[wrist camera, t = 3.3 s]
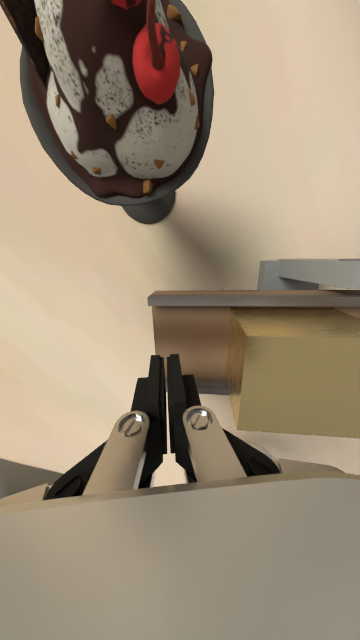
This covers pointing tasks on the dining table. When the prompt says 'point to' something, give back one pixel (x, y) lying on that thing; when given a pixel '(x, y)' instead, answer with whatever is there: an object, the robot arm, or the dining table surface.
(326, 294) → the beam
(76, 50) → the sundae
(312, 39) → the dining table surface
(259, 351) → the block
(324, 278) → the pivot stand
